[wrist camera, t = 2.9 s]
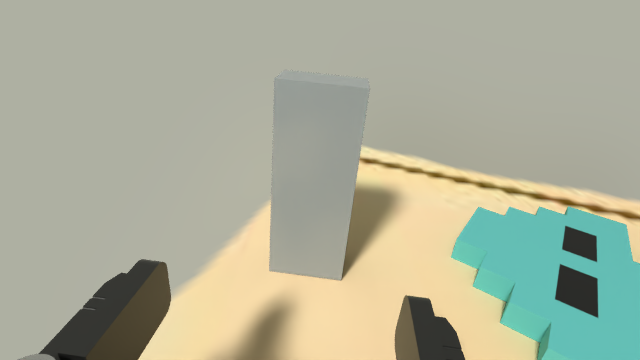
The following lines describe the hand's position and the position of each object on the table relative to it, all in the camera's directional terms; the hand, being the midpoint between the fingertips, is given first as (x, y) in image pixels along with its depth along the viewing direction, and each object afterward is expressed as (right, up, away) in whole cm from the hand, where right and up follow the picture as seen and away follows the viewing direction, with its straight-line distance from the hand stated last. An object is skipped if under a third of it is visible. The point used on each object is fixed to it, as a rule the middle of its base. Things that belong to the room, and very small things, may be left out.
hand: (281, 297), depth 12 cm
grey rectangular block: (+1, +4, +11) cm, 11 cm away
